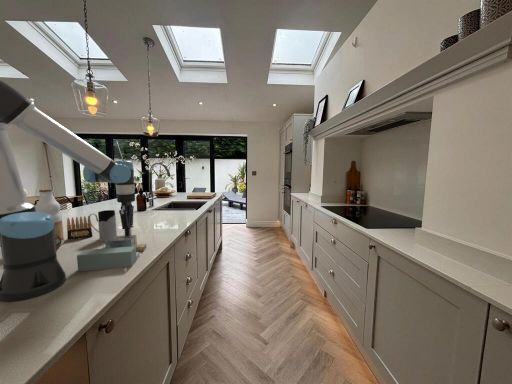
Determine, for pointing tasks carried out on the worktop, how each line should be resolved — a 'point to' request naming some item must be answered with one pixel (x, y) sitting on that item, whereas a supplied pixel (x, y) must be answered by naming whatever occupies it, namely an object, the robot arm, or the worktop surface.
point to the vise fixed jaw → (107, 258)
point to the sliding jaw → (138, 247)
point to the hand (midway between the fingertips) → (128, 241)
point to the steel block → (119, 242)
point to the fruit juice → (51, 210)
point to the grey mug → (106, 224)
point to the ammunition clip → (78, 229)
